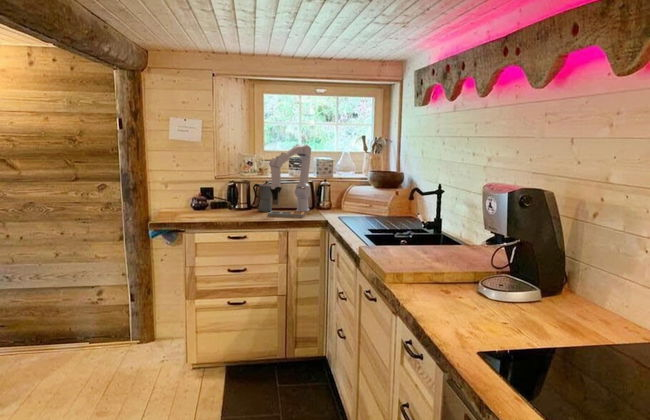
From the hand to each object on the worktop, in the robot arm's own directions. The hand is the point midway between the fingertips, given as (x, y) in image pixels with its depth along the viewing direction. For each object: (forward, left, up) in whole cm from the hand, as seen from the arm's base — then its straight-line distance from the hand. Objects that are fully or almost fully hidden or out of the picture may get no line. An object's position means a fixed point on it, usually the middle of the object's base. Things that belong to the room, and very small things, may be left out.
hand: (275, 199), depth 301 cm
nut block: (0, 0, -3) cm, 3 cm away
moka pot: (-14, -12, -11) cm, 21 cm away
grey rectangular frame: (0, +7, -10) cm, 13 cm away
